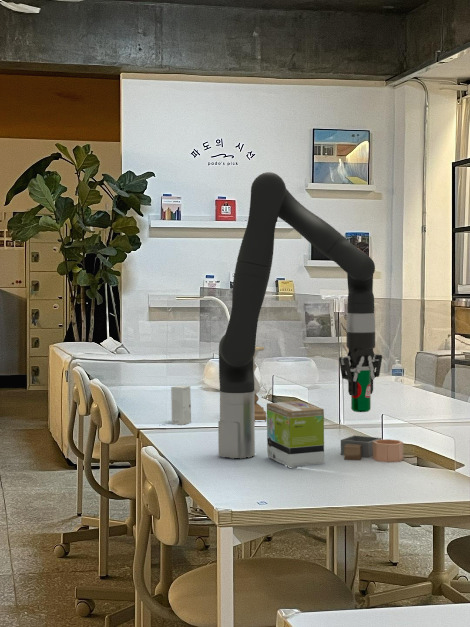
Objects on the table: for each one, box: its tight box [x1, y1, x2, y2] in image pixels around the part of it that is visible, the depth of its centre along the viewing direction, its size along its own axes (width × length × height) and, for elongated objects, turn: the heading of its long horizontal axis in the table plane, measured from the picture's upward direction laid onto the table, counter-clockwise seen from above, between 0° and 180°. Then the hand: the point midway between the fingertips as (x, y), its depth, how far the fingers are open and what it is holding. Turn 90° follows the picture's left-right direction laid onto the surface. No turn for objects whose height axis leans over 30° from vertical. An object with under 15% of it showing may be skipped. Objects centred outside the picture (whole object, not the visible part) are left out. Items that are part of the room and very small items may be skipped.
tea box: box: [266, 400, 325, 467], centre depth 246 cm, size 15×10×15 cm, turn 21°
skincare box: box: [170, 384, 192, 426], centre depth 309 cm, size 6×4×12 cm
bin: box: [340, 434, 382, 459], centre depth 253 cm, size 8×8×4 cm
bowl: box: [372, 439, 404, 463], centre depth 246 cm, size 7×7×5 cm
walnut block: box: [343, 444, 362, 461], centre depth 247 cm, size 4×4×4 cm
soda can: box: [350, 366, 372, 413], centre depth 253 cm, size 5×5×12 cm
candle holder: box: [253, 345, 267, 421], centre depth 317 cm, size 11×11×24 cm
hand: (360, 394), depth 253 cm, fingers closed on soda can, 5 cm apart
